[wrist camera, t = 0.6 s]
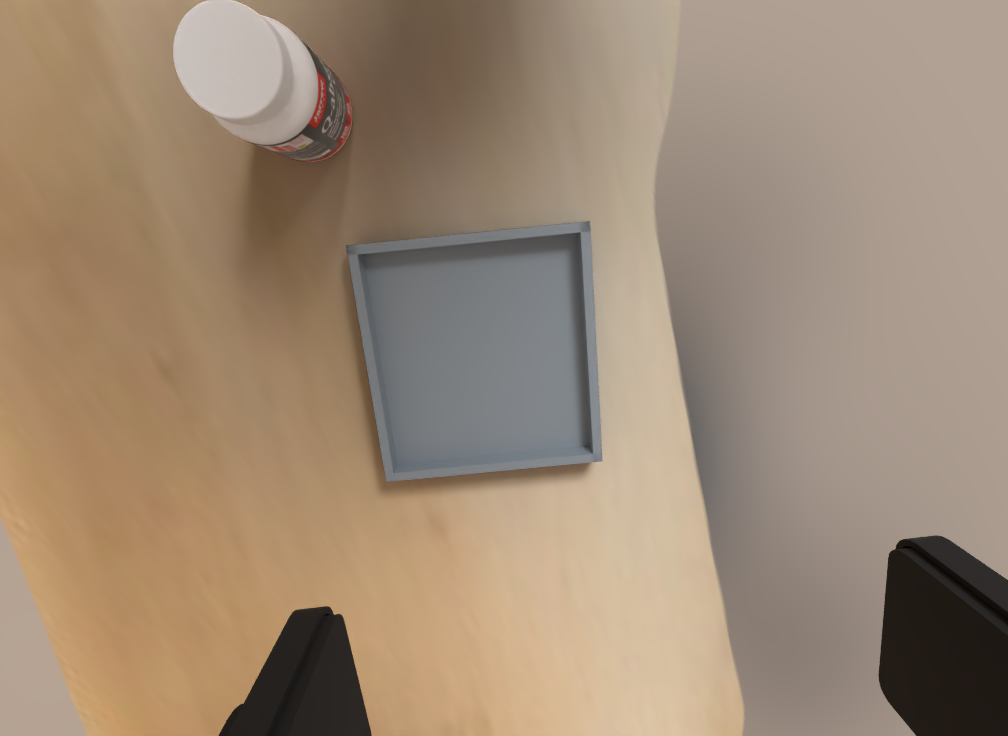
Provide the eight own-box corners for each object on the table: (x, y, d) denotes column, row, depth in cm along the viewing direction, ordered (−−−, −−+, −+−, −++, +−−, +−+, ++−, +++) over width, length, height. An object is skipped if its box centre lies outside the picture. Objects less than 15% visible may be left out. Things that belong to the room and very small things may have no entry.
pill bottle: (367, 148, 32) (314, 113, 23) (281, 174, 33) (193, 150, 23) (335, 48, 31) (264, -34, 21) (246, 76, 31) (135, 7, 22)
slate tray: (354, 244, 34) (346, 245, 32) (584, 221, 34) (589, 221, 32) (391, 469, 38) (386, 482, 36) (596, 449, 38) (602, 461, 36)
